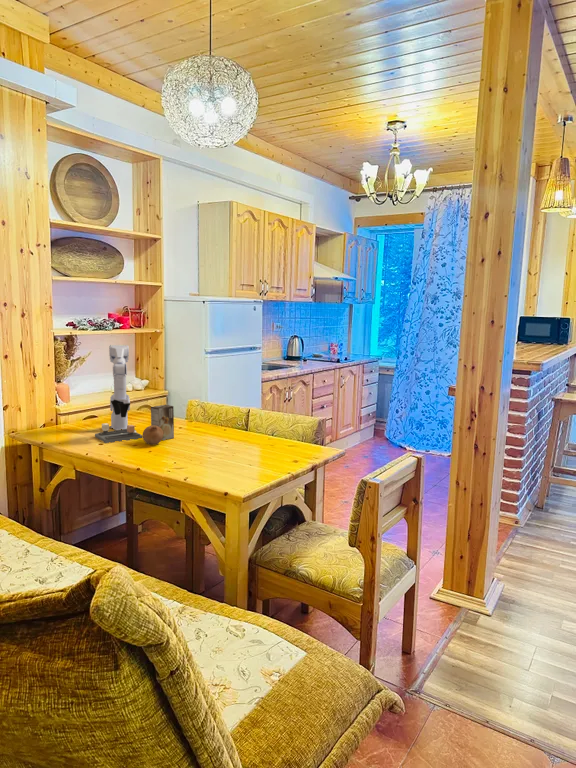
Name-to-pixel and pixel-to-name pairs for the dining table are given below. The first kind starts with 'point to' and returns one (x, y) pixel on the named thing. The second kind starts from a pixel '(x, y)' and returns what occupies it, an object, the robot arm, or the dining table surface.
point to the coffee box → (163, 420)
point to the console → (117, 436)
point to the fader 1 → (105, 428)
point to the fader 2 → (130, 429)
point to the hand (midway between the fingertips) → (120, 415)
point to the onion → (152, 435)
